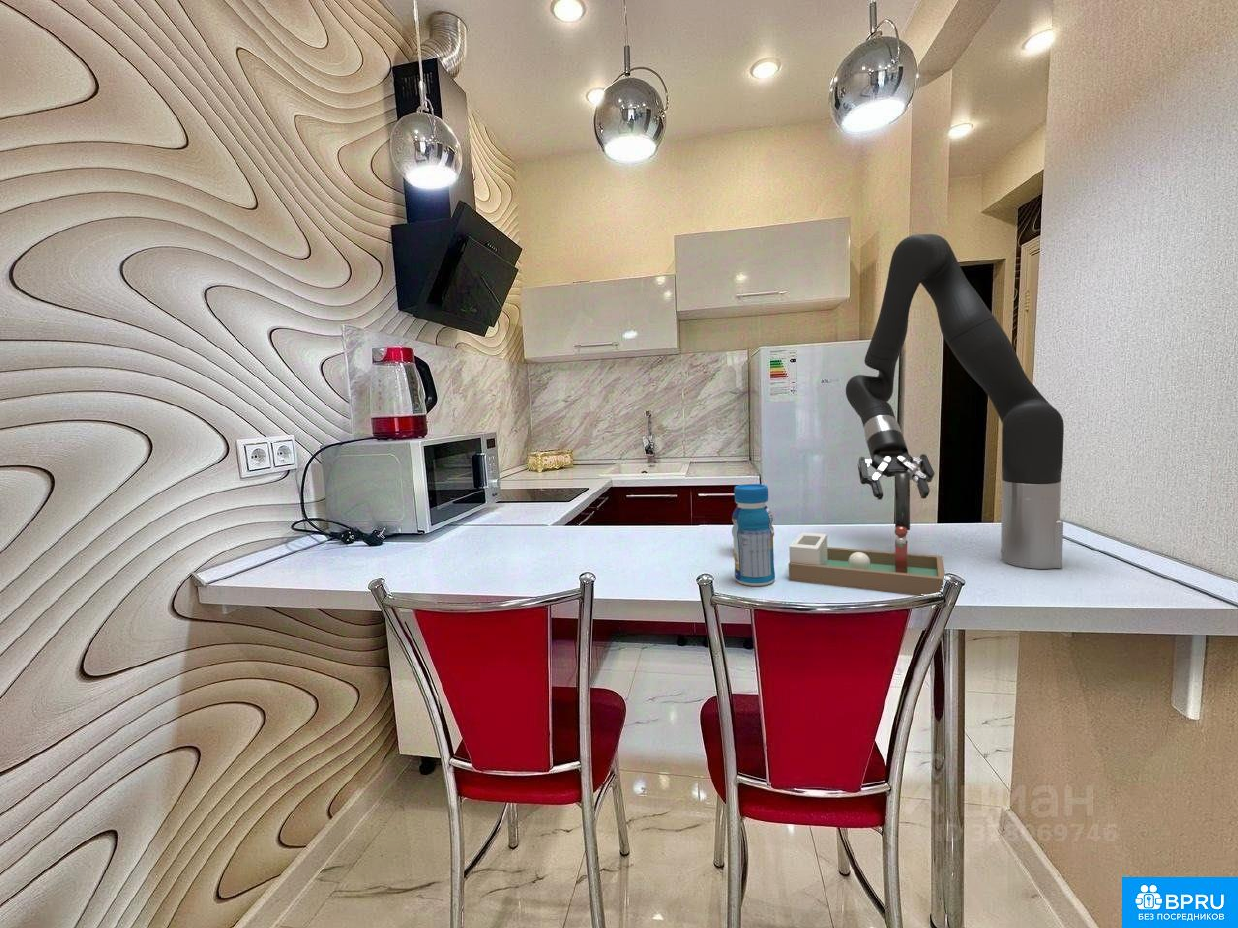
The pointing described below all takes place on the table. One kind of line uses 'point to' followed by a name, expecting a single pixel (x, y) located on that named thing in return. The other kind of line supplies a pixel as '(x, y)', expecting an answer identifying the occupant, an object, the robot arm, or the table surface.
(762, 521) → the beverage bottle
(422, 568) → the table surface
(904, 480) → the rod
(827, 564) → the pitch
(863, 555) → the ball
